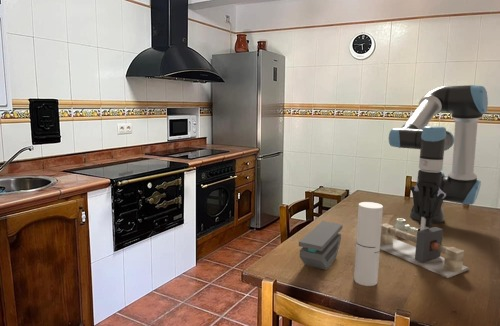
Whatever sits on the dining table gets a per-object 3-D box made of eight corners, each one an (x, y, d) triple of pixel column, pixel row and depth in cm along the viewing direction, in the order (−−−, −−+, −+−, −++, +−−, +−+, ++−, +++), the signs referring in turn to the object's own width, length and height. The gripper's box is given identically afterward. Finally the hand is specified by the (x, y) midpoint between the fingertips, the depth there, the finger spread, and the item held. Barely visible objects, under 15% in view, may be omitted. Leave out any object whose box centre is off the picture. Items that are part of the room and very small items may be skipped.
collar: (414, 259, 132) (417, 231, 130) (432, 253, 137) (435, 226, 136) (422, 262, 129) (425, 234, 128) (440, 256, 135) (443, 229, 133)
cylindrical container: (350, 275, 122) (355, 202, 118) (371, 275, 122) (377, 201, 118) (358, 286, 115) (364, 208, 111) (381, 285, 115) (387, 208, 111)
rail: (370, 245, 148) (372, 226, 147) (390, 239, 154) (392, 221, 153) (447, 278, 121) (450, 255, 120) (468, 270, 127) (470, 248, 126)
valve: (392, 234, 160) (422, 241, 153) (393, 220, 159) (423, 226, 152) (397, 230, 165) (426, 237, 158) (398, 216, 164) (427, 222, 157)
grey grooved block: (320, 278, 120) (321, 246, 118) (297, 272, 123) (298, 241, 122) (340, 251, 141) (342, 224, 140) (321, 247, 145) (322, 220, 143)
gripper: (407, 168, 134) (401, 230, 138) (441, 174, 123) (434, 242, 126) (420, 166, 137) (414, 227, 141) (454, 172, 126) (447, 238, 130)
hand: (424, 234), depth 134 cm, fingers closed
